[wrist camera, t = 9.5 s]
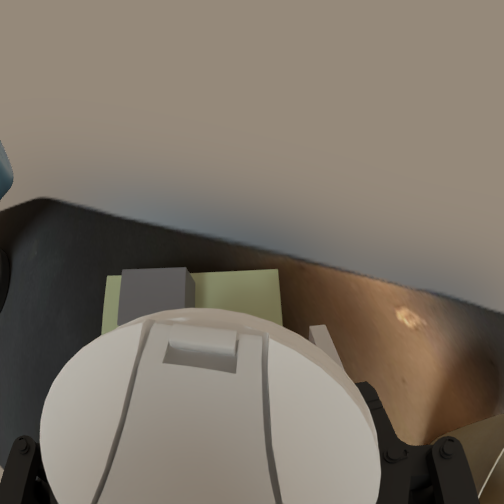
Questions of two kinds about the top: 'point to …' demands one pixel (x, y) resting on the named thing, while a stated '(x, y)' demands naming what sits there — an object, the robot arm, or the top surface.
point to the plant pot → (484, 456)
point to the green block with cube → (190, 293)
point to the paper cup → (207, 417)
